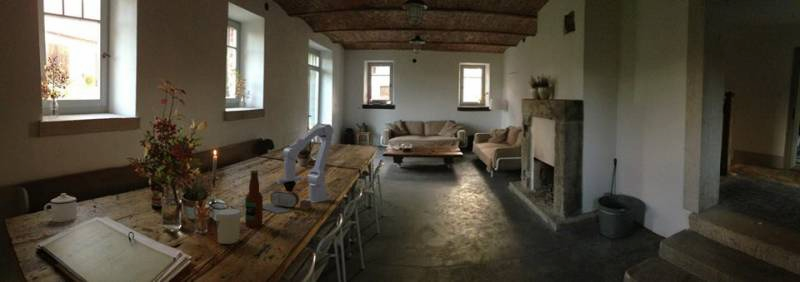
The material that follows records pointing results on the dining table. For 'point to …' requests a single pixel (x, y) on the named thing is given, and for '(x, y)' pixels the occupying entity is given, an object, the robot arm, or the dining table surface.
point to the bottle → (253, 202)
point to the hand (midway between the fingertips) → (289, 195)
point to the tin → (284, 198)
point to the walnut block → (305, 204)
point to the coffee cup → (228, 225)
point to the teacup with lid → (62, 208)
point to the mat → (275, 208)
